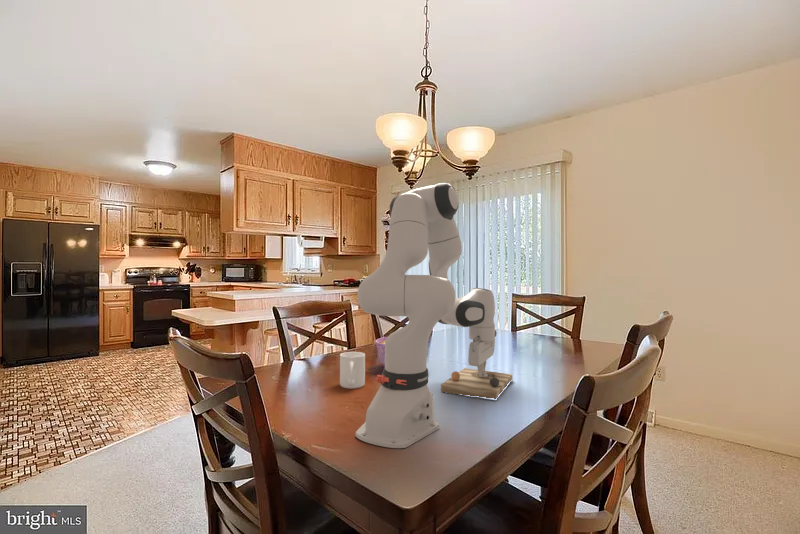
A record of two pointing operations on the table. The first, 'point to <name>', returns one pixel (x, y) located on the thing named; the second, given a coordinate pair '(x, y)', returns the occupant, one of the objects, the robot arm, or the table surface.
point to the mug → (352, 370)
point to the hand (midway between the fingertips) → (481, 373)
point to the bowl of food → (381, 349)
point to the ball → (484, 374)
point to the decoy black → (494, 382)
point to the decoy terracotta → (455, 375)
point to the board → (476, 384)
